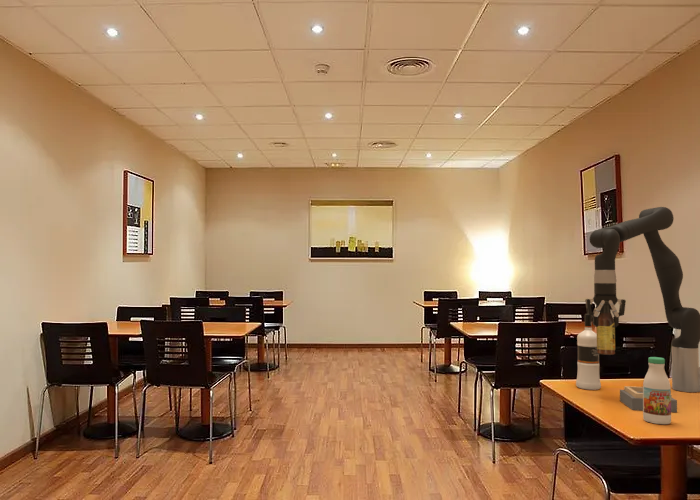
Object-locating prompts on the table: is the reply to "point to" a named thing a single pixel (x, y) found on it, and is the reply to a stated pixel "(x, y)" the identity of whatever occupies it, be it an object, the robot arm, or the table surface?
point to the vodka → (588, 358)
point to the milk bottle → (656, 393)
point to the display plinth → (638, 398)
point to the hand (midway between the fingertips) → (605, 326)
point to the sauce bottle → (606, 331)
